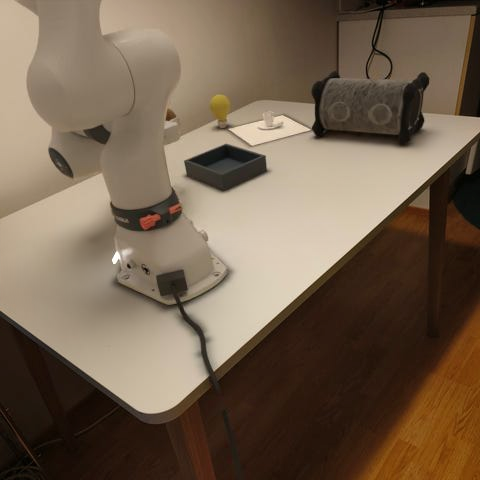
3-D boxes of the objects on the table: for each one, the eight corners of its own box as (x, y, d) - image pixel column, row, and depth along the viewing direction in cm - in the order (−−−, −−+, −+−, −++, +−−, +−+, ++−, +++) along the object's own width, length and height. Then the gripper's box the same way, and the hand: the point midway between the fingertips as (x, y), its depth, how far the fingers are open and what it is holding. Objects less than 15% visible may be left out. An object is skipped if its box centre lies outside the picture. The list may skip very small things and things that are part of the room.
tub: (267, 170, 120) (265, 155, 117) (223, 190, 113) (221, 174, 111) (228, 157, 130) (226, 143, 128) (186, 175, 124) (183, 160, 121)
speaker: (331, 122, 143) (332, 68, 133) (424, 128, 129) (432, 70, 120) (310, 138, 134) (308, 83, 124) (407, 147, 120) (414, 86, 111)
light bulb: (211, 126, 155) (206, 94, 148) (229, 122, 156) (225, 90, 149) (216, 131, 150) (211, 99, 143) (235, 127, 151) (231, 94, 144)
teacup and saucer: (287, 126, 145) (286, 113, 142) (264, 132, 143) (263, 119, 140) (275, 120, 151) (274, 107, 148) (253, 125, 149) (252, 112, 147)
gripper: (147, 129, 93) (195, 109, 100) (90, 118, 104) (137, 101, 111) (154, 159, 97) (200, 138, 104) (99, 146, 108) (144, 128, 115)
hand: (167, 119), depth 108 cm, fingers closed on fruit, 6 cm apart
